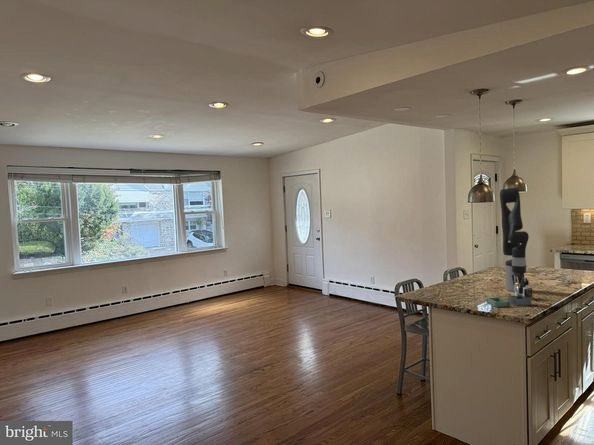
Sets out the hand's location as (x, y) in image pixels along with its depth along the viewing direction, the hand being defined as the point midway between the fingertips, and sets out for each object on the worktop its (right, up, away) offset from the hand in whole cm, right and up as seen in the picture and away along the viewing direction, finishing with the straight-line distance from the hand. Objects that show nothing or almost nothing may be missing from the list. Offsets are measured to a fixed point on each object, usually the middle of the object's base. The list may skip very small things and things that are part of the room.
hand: (519, 292), depth 248 cm
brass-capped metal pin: (0, -5, 0) cm, 5 cm away
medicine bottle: (+10, -6, +14) cm, 18 cm away
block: (0, -7, 0) cm, 7 cm away
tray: (-13, -7, 0) cm, 15 cm away
